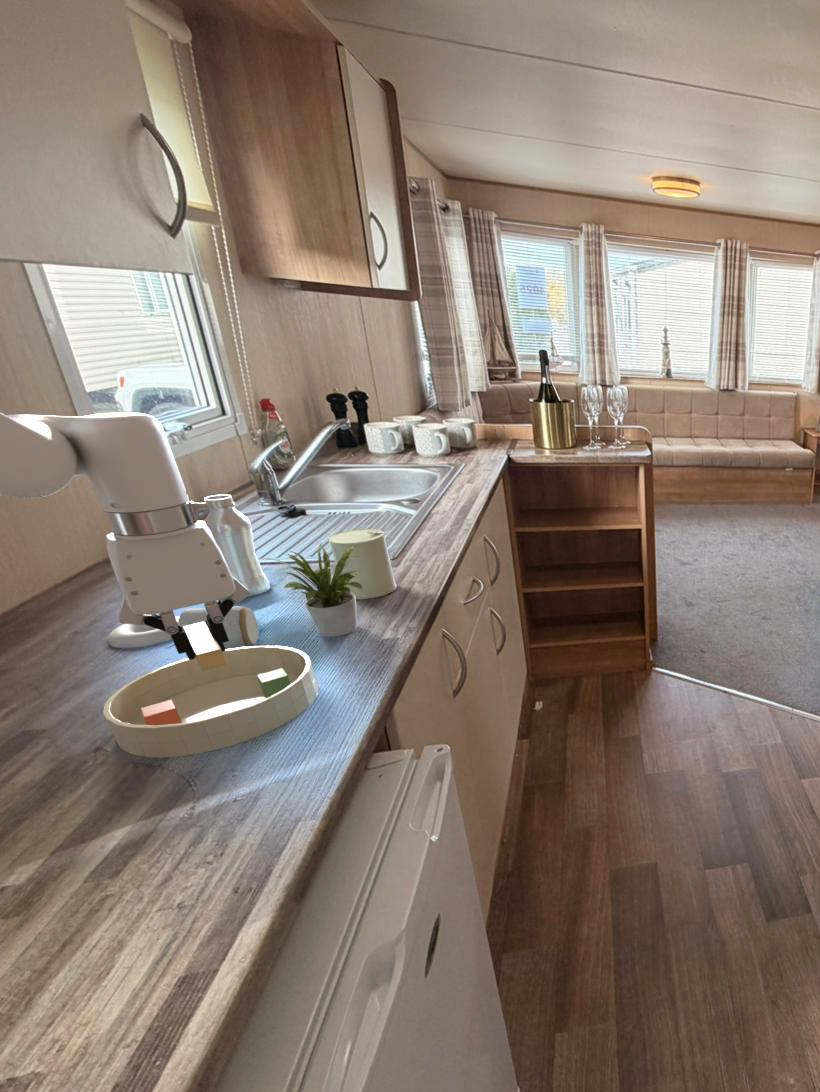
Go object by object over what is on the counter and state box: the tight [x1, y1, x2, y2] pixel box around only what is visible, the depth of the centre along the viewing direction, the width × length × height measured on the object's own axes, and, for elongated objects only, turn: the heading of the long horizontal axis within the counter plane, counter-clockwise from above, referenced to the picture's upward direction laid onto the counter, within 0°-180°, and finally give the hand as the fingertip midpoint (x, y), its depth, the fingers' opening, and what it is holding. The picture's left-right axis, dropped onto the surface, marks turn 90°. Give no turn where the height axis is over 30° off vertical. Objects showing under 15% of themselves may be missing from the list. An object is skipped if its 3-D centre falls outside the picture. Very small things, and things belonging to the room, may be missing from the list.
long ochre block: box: [183, 622, 227, 671], centre depth 84 cm, size 11×2×2 cm, turn 49°
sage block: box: [257, 668, 290, 698], centre depth 92 cm, size 3×3×3 cm
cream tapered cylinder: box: [328, 528, 398, 600], centre depth 125 cm, size 9×9×12 cm
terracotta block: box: [141, 700, 181, 725], centre depth 83 cm, size 3×3×3 cm
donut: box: [107, 614, 180, 649], centre depth 104 cm, size 10×4×10 cm
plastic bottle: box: [203, 494, 271, 598], centre depth 117 cm, size 6×7×20 cm
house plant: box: [261, 542, 362, 638], centre depth 107 cm, size 14×14×16 cm
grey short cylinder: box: [179, 605, 259, 649], centre depth 104 cm, size 11×8×8 cm
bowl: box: [102, 645, 320, 759], centre depth 87 cm, size 21×21×5 cm
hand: (205, 650), depth 85 cm, fingers closed on long ochre block, 2 cm apart
